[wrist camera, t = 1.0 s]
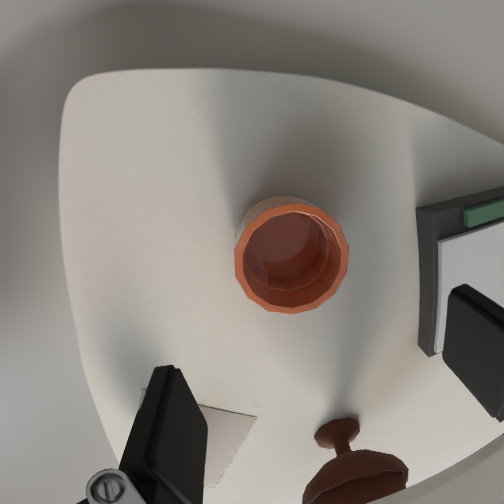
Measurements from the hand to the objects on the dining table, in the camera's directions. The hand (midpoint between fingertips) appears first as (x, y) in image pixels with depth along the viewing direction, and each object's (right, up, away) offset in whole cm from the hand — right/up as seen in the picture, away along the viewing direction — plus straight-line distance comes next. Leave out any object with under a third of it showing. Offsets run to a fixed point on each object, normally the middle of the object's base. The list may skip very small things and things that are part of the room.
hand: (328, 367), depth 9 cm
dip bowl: (0, +5, +13) cm, 14 cm away
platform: (-11, -20, +20) cm, 30 cm away
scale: (+19, +2, +15) cm, 24 cm away
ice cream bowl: (+7, -17, +20) cm, 28 cm away
